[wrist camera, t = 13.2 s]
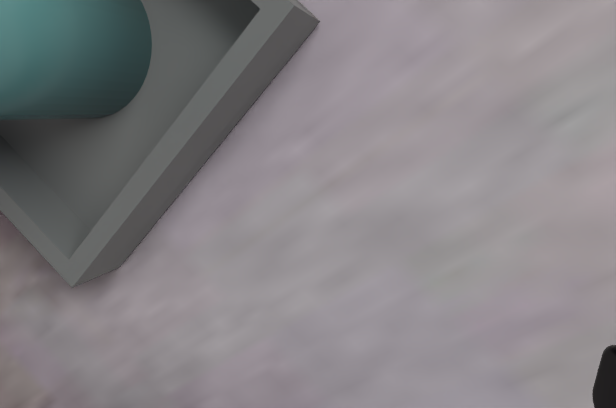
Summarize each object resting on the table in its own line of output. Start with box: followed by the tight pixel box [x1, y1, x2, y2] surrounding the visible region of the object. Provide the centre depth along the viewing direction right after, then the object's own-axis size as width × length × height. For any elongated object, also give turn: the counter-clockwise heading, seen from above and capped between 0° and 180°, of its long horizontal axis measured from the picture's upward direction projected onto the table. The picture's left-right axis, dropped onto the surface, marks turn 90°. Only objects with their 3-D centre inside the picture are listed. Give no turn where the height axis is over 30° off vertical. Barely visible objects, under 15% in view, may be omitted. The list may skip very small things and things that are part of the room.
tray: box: [0, 0, 320, 288], centre depth 21 cm, size 14×14×3 cm
